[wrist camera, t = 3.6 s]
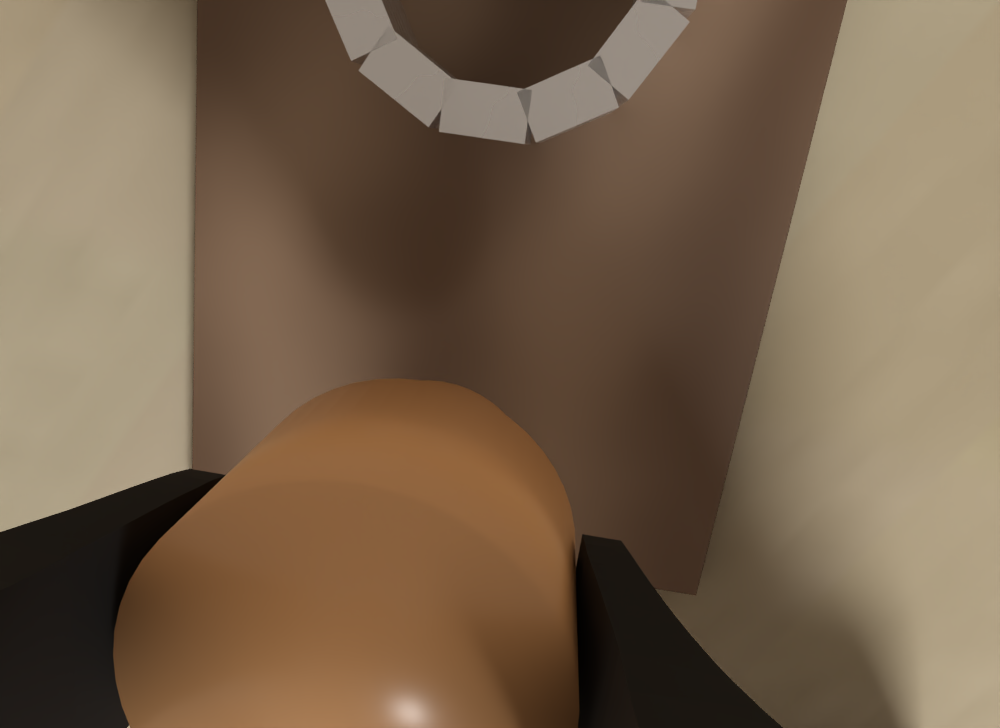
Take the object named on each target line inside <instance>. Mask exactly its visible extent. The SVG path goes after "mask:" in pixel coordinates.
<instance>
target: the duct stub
mask: <svg viewBox="0 0 1000 728" xmlns="http://www.w3.org/2000/svg"><path fill="white" fill-rule="evenodd" d="M325 1H326V3H327V6H328V8H329V10H330V13H331V15H332V17H333V20H334V22H335V24H336V27H337V29H338V31H339V34H340V36H341V38H342V41H343V43H344V45H345V48H346V50H347V52H348V55H349V57H350V59H351V61H353V62H355V63H358V64H360V65H362V66H361V68H360V69H359V72H361V73H362V74H363V75H364V76H366V77H367V78H368V79H369V80H371V81H372V82H373V83H374V84H376V85H377V86H378V87H379V88H381V89H382V90H383V91H384V92H386V93H387V94H388V95H389V96H390V97H392V98H393V99H394V100H395V101H397V102H398V103H399V104H400V105H402V106H403V107H404V108H405V109H407V110H408V111H409V112H410V113H412V114H413V115H414V116H415V117H417V118H418V119H419V120H420V121H421V122H423V123H424V124H425V125H426V126H428V127H431V128H438V129H439V132H444V133H451V134H458V135H465V136H472V137H479V138H486V139H493V140H500V141H507V142H514V143H520V144H530V142H531V135H532V134H533V136H534V139H535V142H536V143H541V142H543V141H546V140H548V139H550V138H553V137H555V136H558V135H560V134H562V133H565V132H567V131H569V130H572V129H574V128H576V127H579V126H581V125H584V124H586V123H588V122H591V121H593V120H595V119H598V118H600V117H602V116H605V115H607V114H610V113H611V112H613V111H614V110H616V109H617V108H619V106H621V105H622V104H623V103H625V102H626V101H628V100H629V99H630V98H631V96H632V95H633V94H634V92H635V91H636V90H637V89H638V87H639V86H640V85H641V83H642V82H643V81H644V80H645V78H646V77H647V76H648V75H649V73H650V72H651V71H652V69H653V68H654V67H655V66H656V64H657V63H658V62H659V61H660V59H661V58H662V57H663V55H664V54H665V53H666V52H667V50H668V49H669V48H670V47H671V45H672V44H673V43H674V41H675V40H676V39H677V38H678V36H679V35H680V34H681V32H682V31H683V30H684V29H685V27H686V26H687V25H688V24H689V21H688V20H687V18H688V17H689V16H690V15H691V14H692V13H693V12H694V11H695V9H696V4H697V0H633V5H632V8H631V9H630V10H629V12H628V13H627V14H626V16H625V17H624V18H623V20H622V21H621V22H620V24H619V25H618V26H617V28H616V29H615V30H614V32H613V33H612V34H611V36H610V37H609V38H608V40H607V41H606V42H605V44H604V45H603V46H602V48H601V49H600V50H599V52H598V53H597V54H596V55H595V57H594V58H593V59H591V60H589V61H586V62H584V63H582V64H580V65H577V66H575V67H573V68H571V69H568V70H566V71H564V72H561V73H559V74H557V75H555V76H552V77H550V78H548V79H546V80H543V81H541V82H539V83H536V84H534V85H532V86H530V87H527V88H525V89H522V88H515V87H508V86H501V85H493V84H486V83H479V82H472V81H465V80H458V79H457V78H455V77H454V76H453V75H452V74H451V73H449V72H448V71H447V70H446V69H445V68H443V67H442V66H441V65H440V64H438V63H437V62H436V61H435V60H434V59H432V58H431V57H430V56H429V55H427V54H426V53H425V52H424V51H423V50H421V49H420V48H419V46H418V43H417V41H416V38H415V36H414V33H413V31H412V28H411V26H410V23H409V21H408V19H407V16H406V14H405V11H404V9H403V6H402V4H401V1H400V0H325Z"/></svg>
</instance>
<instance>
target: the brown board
mask: <svg viewBox="0 0 1000 728" xmlns="http://www.w3.org/2000/svg"><path fill="white" fill-rule="evenodd" d="M400 1H401V4H402V6H403V9H404V11H405V14H406V16H407V19H408V21H409V23H410V26H411V28H412V31H413V33H414V36H415V38H416V41H417V43H418V46H419V48H420V49H421V50H423V51H424V52H425V53H426V54H427V55H429V56H430V57H431V58H432V59H434V60H435V61H436V62H437V63H438V64H440V65H441V66H442V67H443V68H445V69H446V70H447V71H448V72H449V73H451V74H452V75H453V76H454V77H455V78H457V79H458V80H465V81H472V82H479V83H486V84H493V85H501V86H508V87H515V88H522V89H525V88H527V87H530V86H532V85H534V84H536V83H539V82H541V81H543V80H546V79H548V78H550V77H552V76H555V75H557V74H559V73H561V72H564V71H566V70H568V69H571V68H573V67H575V66H577V65H580V64H582V63H584V62H586V61H589V60H591V59H593V58H594V57H595V55H596V54H597V53H598V52H599V50H600V49H601V48H602V46H603V45H604V44H605V42H606V41H607V40H608V38H609V37H610V36H611V34H612V33H613V32H614V30H615V29H616V28H617V26H618V25H619V24H620V22H621V21H622V20H623V18H624V17H625V16H626V14H627V13H628V12H629V10H630V9H631V8H632V5H633V0H400ZM846 3H847V0H697V4H696V9H695V11H694V12H693V13H692V14H691V15H690V16H689V17H688V18H687V20H688V21H689V24H688V25H687V26H686V27H685V29H684V30H683V31H682V32H681V34H680V35H679V36H678V38H677V39H676V40H675V41H674V43H673V44H672V45H671V47H670V48H669V49H668V50H667V52H666V53H665V54H664V55H663V57H662V58H661V59H660V61H659V62H658V63H657V64H656V66H655V67H654V68H653V69H652V71H651V72H650V73H649V75H648V76H647V77H646V78H645V80H644V81H643V82H642V83H641V85H640V86H639V87H638V89H637V90H636V91H635V92H634V94H633V95H632V96H631V98H630V99H629V100H628V101H626V102H625V103H623V104H622V105H621V106H619V108H617V109H616V110H614V111H613V112H611V113H610V114H607V115H605V116H602V117H600V118H598V119H595V120H593V121H591V122H588V123H586V124H584V125H581V126H579V127H576V128H574V129H572V130H569V131H567V132H565V133H562V134H560V135H558V136H555V137H553V138H550V139H548V140H546V141H543V142H541V143H536V142H535V139H534V136H533V134H532V135H531V142H530V144H520V143H514V142H507V141H500V140H493V139H486V138H479V137H472V136H465V135H458V134H451V133H444V132H439V129H438V128H431V127H428V126H426V125H425V124H424V123H423V122H421V121H420V120H419V119H418V118H417V117H415V116H414V115H413V114H412V113H410V112H409V111H408V110H407V109H405V108H404V107H403V106H402V105H400V104H399V103H398V102H397V101H395V100H394V99H393V98H392V97H390V96H389V95H388V94H387V93H386V92H384V91H383V90H382V89H381V88H379V87H378V86H377V85H376V84H374V83H373V82H372V81H371V80H369V79H368V78H367V77H366V76H364V75H363V74H362V73H361V72H359V69H360V68H361V66H362V65H360V64H358V63H355V62H353V61H351V59H350V57H349V55H348V52H347V50H346V48H345V45H344V43H343V41H342V38H341V36H340V34H339V31H338V29H337V27H336V24H335V22H334V20H333V17H332V15H331V13H330V10H329V8H328V6H327V3H326V1H325V0H198V4H197V98H196V192H195V286H194V380H193V469H194V470H200V471H206V472H212V473H218V474H224V475H227V474H228V473H229V472H230V471H231V470H232V469H233V468H234V467H235V466H236V465H237V464H238V463H239V462H240V461H241V460H242V459H243V458H244V457H245V456H246V455H247V454H248V453H249V452H250V451H251V450H252V449H253V448H255V447H256V446H257V445H258V444H259V443H260V442H261V441H262V440H263V439H264V438H265V437H266V436H267V435H268V434H269V433H270V432H271V431H272V430H273V429H274V428H275V427H276V426H277V425H278V424H279V423H281V422H282V421H283V420H284V419H285V418H286V417H287V416H289V415H290V414H291V413H292V412H293V411H294V410H296V409H297V408H299V407H300V406H302V405H303V404H305V403H306V402H308V401H310V400H311V399H313V398H315V397H317V396H319V395H321V394H323V393H326V392H328V391H330V390H332V389H335V388H338V387H342V386H345V385H348V384H352V383H356V382H362V381H368V380H374V379H397V378H401V379H411V380H432V381H443V382H447V383H452V384H456V385H459V386H462V387H464V388H467V389H470V390H472V391H474V392H476V393H478V394H480V395H482V396H483V397H485V398H486V399H488V400H489V401H491V402H492V403H493V404H495V405H496V406H497V407H498V408H499V409H500V410H501V411H503V412H504V413H505V415H506V416H508V417H509V418H511V419H512V420H513V421H514V422H515V423H516V424H518V425H519V426H520V427H521V428H522V429H523V430H524V431H526V432H527V433H528V434H529V436H530V437H531V438H532V439H533V440H534V441H535V442H536V443H537V445H538V446H539V447H540V448H541V449H542V450H543V452H544V453H545V455H546V456H547V458H548V459H549V461H550V462H551V464H552V465H553V466H554V468H555V470H556V472H557V474H558V476H559V478H560V480H561V482H562V484H563V486H564V488H565V491H566V494H567V497H568V500H569V503H570V506H571V511H572V516H573V522H574V527H575V556H576V564H577V559H578V554H579V549H580V544H581V538H582V534H585V535H591V536H597V537H603V538H609V539H615V540H621V541H622V542H623V544H624V545H625V547H626V548H627V549H628V551H629V552H630V554H631V555H632V557H633V558H634V559H635V561H636V562H637V564H638V565H639V567H640V568H641V570H642V571H643V573H644V574H645V576H646V577H647V578H648V580H649V581H650V583H651V584H652V586H653V587H654V588H656V589H661V590H667V591H673V592H679V593H685V594H691V595H696V593H697V589H698V585H699V581H700V577H701V573H702V570H703V566H704V562H705V558H706V554H707V550H708V546H709V542H710V538H711V534H712V530H713V526H714V522H715V518H716V514H717V510H718V507H719V503H720V499H721V495H722V491H723V487H724V483H725V479H726V475H727V471H728V467H729V463H730V459H731V455H732V451H733V448H734V444H735V440H736V436H737V432H738V428H739V424H740V420H741V416H742V412H743V408H744V404H745V400H746V396H747V392H748V389H749V385H750V381H751V377H752V373H753V369H754V365H755V361H756V357H757V353H758V349H759V345H760V341H761V337H762V333H763V329H764V326H765V322H766V318H767V314H768V310H769V306H770V302H771V298H772V294H773V290H774V286H775V282H776V278H777V274H778V270H779V267H780V263H781V259H782V255H783V251H784V247H785V243H786V239H787V235H788V231H789V227H790V223H791V219H792V215H793V211H794V208H795V204H796V200H797V196H798V192H799V188H800V184H801V180H802V176H803V172H804V168H805V164H806V160H807V156H808V152H809V148H810V145H811V141H812V137H813V133H814V129H815V125H816V121H817V117H818V113H819V109H820V105H821V101H822V97H823V93H824V89H825V86H826V82H827V78H828V74H829V70H830V66H831V62H832V58H833V54H834V50H835V46H836V42H837V38H838V34H839V30H840V27H841V23H842V19H843V15H844V11H845V7H846Z"/></svg>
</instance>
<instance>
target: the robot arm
mask: <svg viewBox="0 0 1000 728" xmlns="http://www.w3.org/2000/svg"><path fill="white" fill-rule="evenodd" d="M224 476H225V475H224V474H218V473H212V472H206V471H200V470H194V469H188V470H183V471H179V472H176V473H172V474H169V475H166V476H163V477H160V478H157V479H154V480H151V481H148V482H145V483H142V484H139V485H137V486H134V487H131V488H128V489H126V490H123V491H120V492H117V493H114V494H112V495H109V496H106V497H103V498H101V499H98V500H95V501H92V502H89V503H87V504H84V505H81V506H78V507H76V508H73V509H70V510H67V511H64V512H61V513H58V514H55V515H52V516H49V517H46V518H42V519H39V520H36V521H33V522H30V523H27V524H24V525H21V526H18V527H15V528H12V529H9V530H6V531H2V532H0V728H127V727H128V726H129V723H128V720H127V718H126V715H125V713H124V710H123V708H122V705H121V701H120V697H119V693H118V689H117V685H116V680H115V670H114V660H113V647H114V630H115V625H116V620H117V616H118V611H119V606H120V603H121V601H122V598H123V596H124V593H125V591H126V588H127V586H128V583H129V581H130V579H131V578H132V576H133V574H134V573H135V571H136V569H137V568H138V566H139V564H140V562H141V561H142V559H143V558H144V557H145V556H146V555H147V553H148V552H149V551H150V550H151V549H152V547H153V546H154V545H155V544H156V543H157V541H158V540H159V539H160V538H161V537H162V536H163V535H164V534H165V533H166V532H167V531H168V530H169V529H171V528H172V527H173V526H174V525H175V524H176V523H177V522H178V521H179V520H180V519H181V518H182V517H183V516H184V515H185V514H186V513H187V512H188V511H189V510H190V509H191V508H192V507H193V506H194V505H195V504H196V503H197V502H199V501H200V500H201V499H202V498H203V497H204V496H205V495H206V494H207V493H208V492H209V491H210V490H211V489H212V488H213V487H214V486H215V485H216V484H217V483H218V482H219V481H220V480H221V479H222V478H223V477H224ZM576 596H577V636H578V676H579V720H578V728H783V727H781V726H780V725H779V724H778V723H777V722H776V721H775V720H773V719H772V718H771V717H770V716H769V715H768V714H767V713H765V712H764V711H763V710H762V709H761V708H760V707H759V706H758V705H757V704H756V703H755V702H754V701H753V700H752V699H751V698H750V697H749V696H748V695H747V694H746V693H744V692H743V691H742V690H741V689H740V688H739V687H738V686H737V685H736V684H735V683H734V682H733V681H732V680H731V679H730V678H729V677H728V676H727V675H726V674H725V673H724V672H723V671H722V670H721V669H720V668H719V667H718V666H717V664H716V663H715V662H714V661H713V660H712V659H711V658H710V657H709V656H708V654H707V653H706V652H705V651H704V650H703V649H702V648H701V646H700V645H699V644H698V643H697V642H696V641H695V640H694V638H693V637H692V636H691V635H690V634H689V633H688V631H687V630H686V629H685V628H684V626H683V625H682V624H681V623H680V622H679V620H678V619H677V618H676V617H675V615H674V614H673V613H672V611H671V610H670V609H669V607H668V606H667V605H666V604H665V602H664V601H663V600H662V598H661V597H660V595H659V594H658V593H657V591H656V590H655V588H654V587H653V586H652V584H651V583H650V581H649V580H648V578H647V577H646V576H645V574H644V573H643V571H642V570H641V568H640V567H639V565H638V564H637V562H636V561H635V559H634V558H633V557H632V555H631V554H630V552H629V551H628V549H627V548H626V547H625V545H624V544H623V542H622V541H621V540H615V539H609V538H603V537H597V536H591V535H585V534H582V538H581V544H580V549H579V554H578V559H577V564H576Z"/></svg>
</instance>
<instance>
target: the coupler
mask: <svg viewBox="0 0 1000 728" xmlns="http://www.w3.org/2000/svg"><path fill="white" fill-rule="evenodd" d="M113 660H114V670H115V680H116V685H117V689H118V693H119V697H120V701H121V705H122V708H123V710H124V713H125V715H126V718H127V720H128V723H129V725H130V728H578V720H579V676H578V636H577V596H576V556H575V527H574V522H573V516H572V511H571V506H570V503H569V500H568V497H567V494H566V491H565V488H564V486H563V484H562V482H561V480H560V478H559V476H558V474H557V472H556V470H555V468H554V466H553V465H552V464H551V462H550V461H549V459H548V458H547V456H546V455H545V453H544V452H543V450H542V449H541V448H540V447H539V446H538V445H537V443H536V442H535V441H534V440H533V439H532V438H531V437H530V436H529V434H528V433H527V432H526V431H524V430H523V429H522V428H521V427H520V426H519V425H518V424H516V423H515V422H514V421H513V420H512V419H511V418H509V417H508V416H506V415H505V413H504V412H503V411H501V410H500V409H499V408H498V407H497V406H496V405H495V404H493V403H492V402H491V401H489V400H488V399H486V398H485V397H483V396H482V395H480V394H478V393H476V392H474V391H472V390H470V389H467V388H464V387H462V386H459V385H456V384H452V383H447V382H443V381H432V380H411V379H401V378H397V379H374V380H368V381H362V382H356V383H352V384H348V385H345V386H342V387H338V388H335V389H332V390H330V391H328V392H326V393H323V394H321V395H319V396H317V397H315V398H313V399H311V400H310V401H308V402H306V403H305V404H303V405H302V406H300V407H299V408H297V409H296V410H294V411H293V412H292V413H291V414H290V415H289V416H287V417H286V418H285V419H284V420H283V421H282V422H281V423H279V424H278V425H277V426H276V427H275V428H274V429H273V430H272V431H271V432H270V433H269V434H268V435H267V436H266V437H265V438H264V439H263V440H262V441H261V442H260V443H259V444H258V445H257V446H256V447H255V448H253V449H252V450H251V451H250V452H249V453H248V454H247V455H246V456H245V457H244V458H243V459H242V460H241V461H240V462H239V463H238V464H237V465H236V466H235V467H234V468H233V469H232V470H231V471H230V472H229V473H228V474H227V475H225V476H224V477H223V478H222V479H221V480H220V481H219V482H218V483H217V484H216V485H215V486H214V487H213V488H212V489H211V490H210V491H209V492H208V493H207V494H206V495H205V496H204V497H203V498H202V499H201V500H200V501H199V502H197V503H196V504H195V505H194V506H193V507H192V508H191V509H190V510H189V511H188V512H187V513H186V514H185V515H184V516H183V517H182V518H181V519H180V520H179V521H178V522H177V523H176V524H175V525H174V526H173V527H172V528H171V529H169V530H168V531H167V532H166V533H165V534H164V535H163V536H162V537H161V538H160V539H159V540H158V541H157V543H156V544H155V545H154V546H153V547H152V549H151V550H150V551H149V552H148V553H147V555H146V556H145V557H144V558H143V559H142V561H141V562H140V564H139V566H138V568H137V569H136V571H135V573H134V574H133V576H132V578H131V579H130V581H129V583H128V586H127V588H126V591H125V593H124V596H123V598H122V601H121V603H120V606H119V611H118V616H117V620H116V625H115V630H114V647H113Z"/></svg>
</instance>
